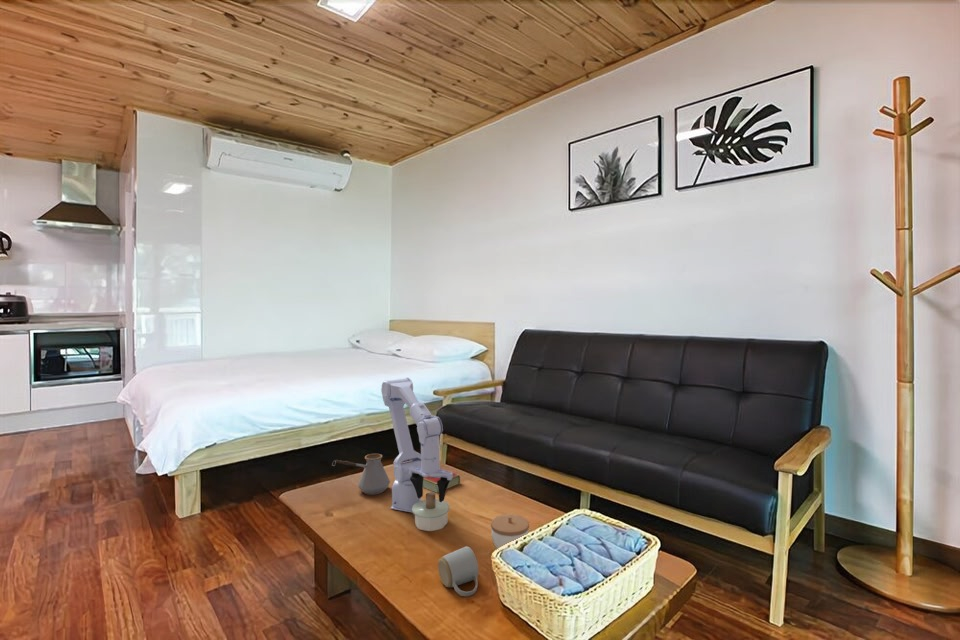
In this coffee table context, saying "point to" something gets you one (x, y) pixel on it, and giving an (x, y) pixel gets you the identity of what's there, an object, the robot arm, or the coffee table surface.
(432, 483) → the hardcover book
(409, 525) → the coffee table surface
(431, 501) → the lid
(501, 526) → the lidded jar
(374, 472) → the coffee pot
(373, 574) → the coffee table surface
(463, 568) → the ceramic mug
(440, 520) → the bowl
